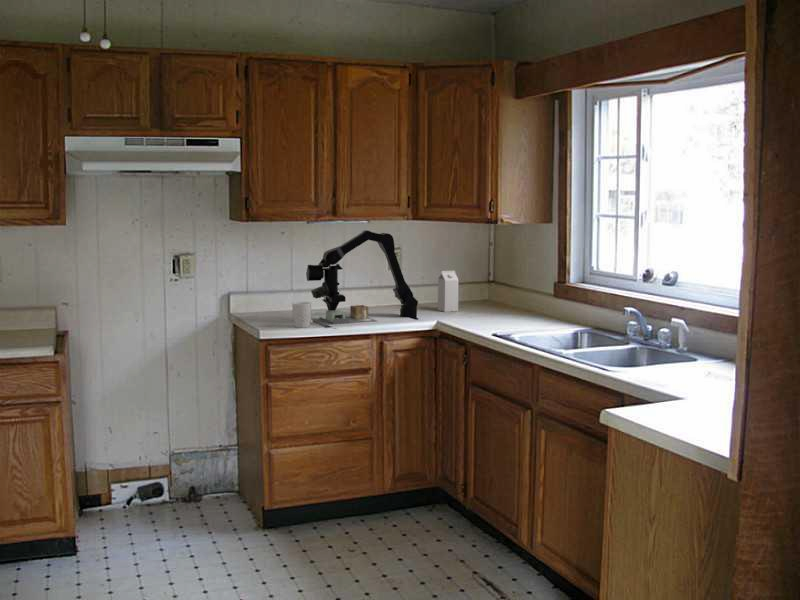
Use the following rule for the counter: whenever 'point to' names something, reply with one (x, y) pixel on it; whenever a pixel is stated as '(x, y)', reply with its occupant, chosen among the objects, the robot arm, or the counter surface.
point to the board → (342, 320)
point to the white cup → (301, 314)
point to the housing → (334, 315)
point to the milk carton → (448, 291)
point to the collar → (358, 311)
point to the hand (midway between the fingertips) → (331, 316)
